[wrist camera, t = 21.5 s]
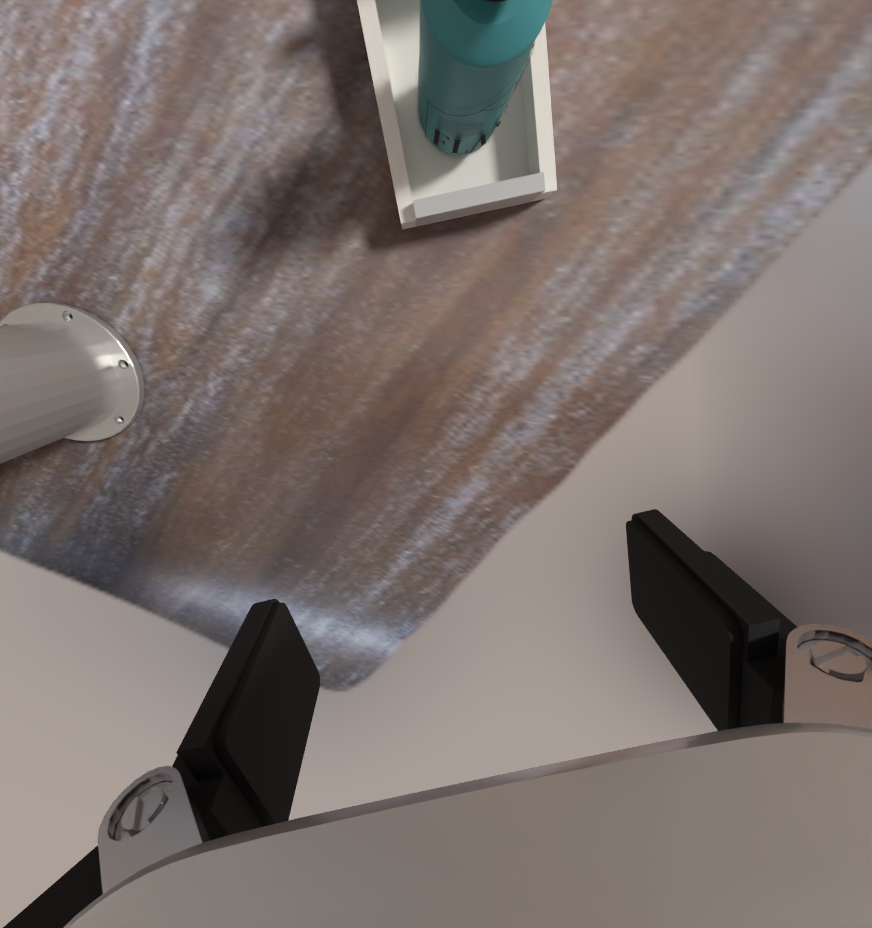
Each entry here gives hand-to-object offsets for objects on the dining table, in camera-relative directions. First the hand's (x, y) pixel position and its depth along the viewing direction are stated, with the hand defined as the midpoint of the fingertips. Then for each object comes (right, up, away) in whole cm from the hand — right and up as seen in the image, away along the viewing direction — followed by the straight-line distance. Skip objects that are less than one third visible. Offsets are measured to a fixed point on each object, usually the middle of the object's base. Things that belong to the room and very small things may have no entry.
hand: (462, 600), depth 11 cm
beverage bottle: (+1, +31, +22) cm, 38 cm away
